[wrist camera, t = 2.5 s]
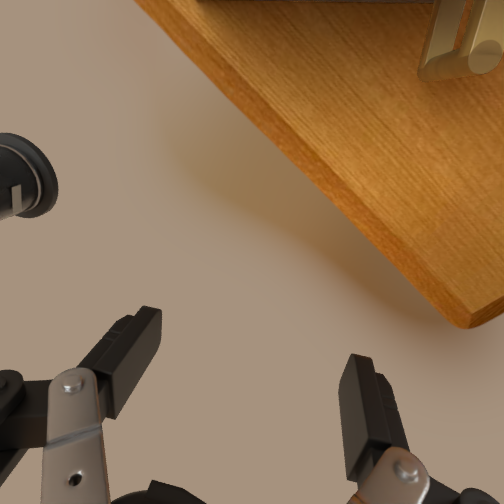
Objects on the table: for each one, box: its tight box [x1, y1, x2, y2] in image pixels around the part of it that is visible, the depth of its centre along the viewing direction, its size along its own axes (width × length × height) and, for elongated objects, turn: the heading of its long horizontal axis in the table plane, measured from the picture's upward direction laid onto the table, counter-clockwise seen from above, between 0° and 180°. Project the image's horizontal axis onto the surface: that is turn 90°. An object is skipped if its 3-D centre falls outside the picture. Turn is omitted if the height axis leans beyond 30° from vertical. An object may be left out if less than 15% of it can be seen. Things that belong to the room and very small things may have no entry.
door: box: [256, 0, 504, 82], centre depth 22 cm, size 8×26×24 cm, turn 87°
